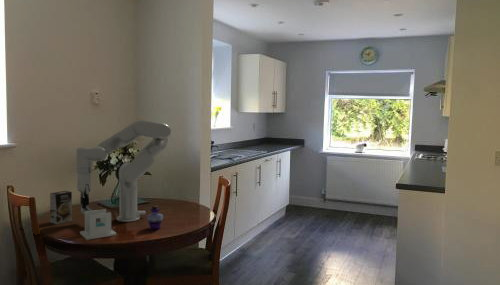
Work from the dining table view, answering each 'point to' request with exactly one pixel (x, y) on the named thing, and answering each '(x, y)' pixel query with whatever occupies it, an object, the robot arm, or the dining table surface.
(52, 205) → the coffee box
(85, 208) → the shaft
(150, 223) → the potion bottle
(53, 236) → the dining table surface
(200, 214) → the dining table surface
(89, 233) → the bearing block
